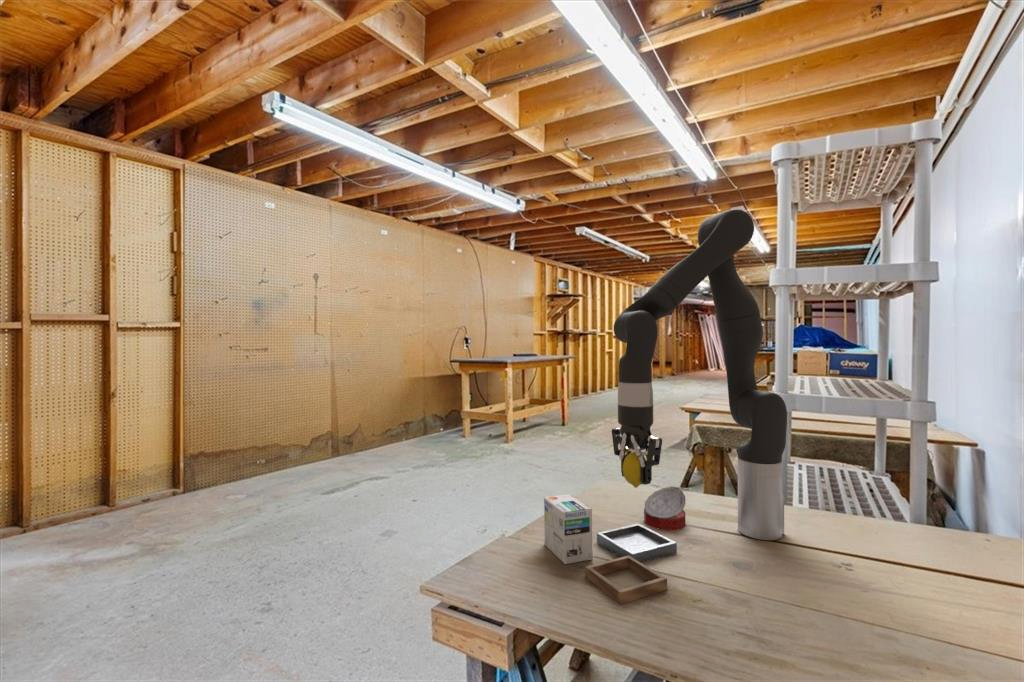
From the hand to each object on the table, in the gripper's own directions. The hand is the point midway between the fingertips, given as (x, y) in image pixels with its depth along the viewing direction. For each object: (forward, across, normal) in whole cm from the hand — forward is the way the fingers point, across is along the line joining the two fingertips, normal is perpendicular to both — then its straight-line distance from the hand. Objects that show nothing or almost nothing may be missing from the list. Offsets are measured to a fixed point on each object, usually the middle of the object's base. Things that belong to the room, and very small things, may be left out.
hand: (635, 479), depth 105 cm
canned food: (+15, +8, -16) cm, 23 cm away
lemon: (+2, 0, 0) cm, 2 cm away
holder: (+15, -11, +12) cm, 22 cm away
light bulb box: (+15, +5, +14) cm, 21 cm away
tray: (+15, 0, 0) cm, 15 cm away
